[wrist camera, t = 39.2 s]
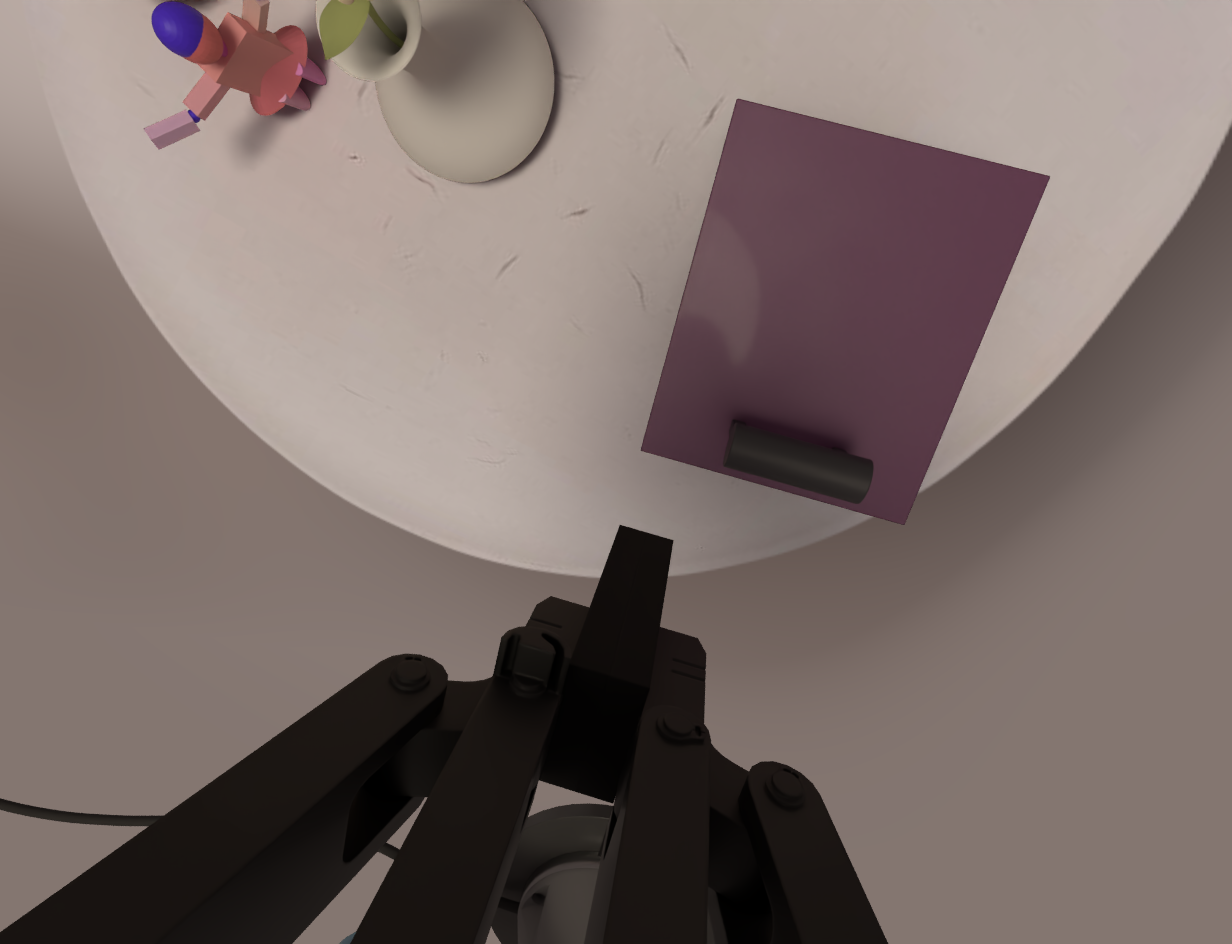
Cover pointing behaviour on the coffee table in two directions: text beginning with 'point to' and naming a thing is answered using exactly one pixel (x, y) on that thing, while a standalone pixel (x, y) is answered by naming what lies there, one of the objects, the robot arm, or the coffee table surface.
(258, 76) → the figurine
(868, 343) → the lid
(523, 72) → the flower in vase
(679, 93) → the coffee table surface
